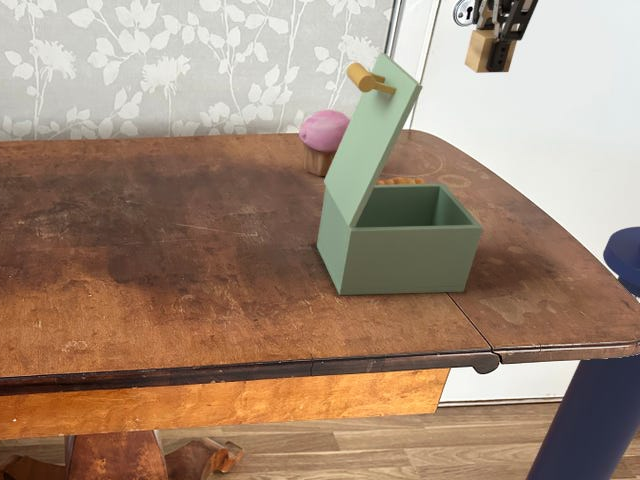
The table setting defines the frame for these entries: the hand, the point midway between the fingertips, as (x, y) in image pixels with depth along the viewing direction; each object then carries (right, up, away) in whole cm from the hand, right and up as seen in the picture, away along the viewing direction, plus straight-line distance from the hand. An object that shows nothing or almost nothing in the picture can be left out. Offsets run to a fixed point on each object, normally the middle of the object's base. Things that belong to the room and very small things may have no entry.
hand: (486, 65), depth 99 cm
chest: (-16, -29, -7) cm, 34 cm away
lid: (-22, -16, -17) cm, 32 cm away
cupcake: (-19, -10, +18) cm, 28 cm away
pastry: (-10, -17, +9) cm, 22 cm away
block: (0, 0, 0) cm, 0 cm away
